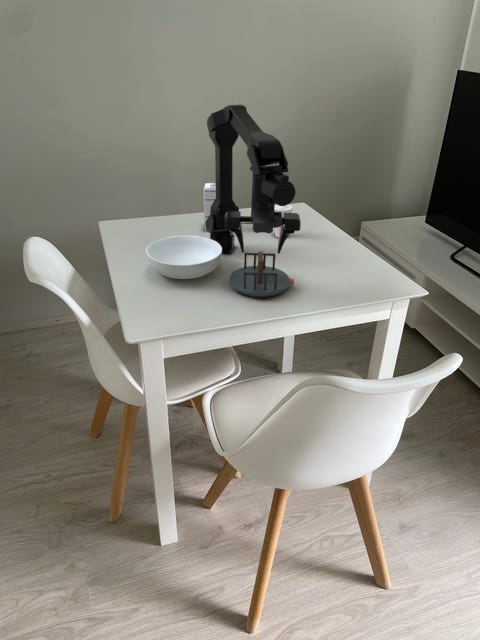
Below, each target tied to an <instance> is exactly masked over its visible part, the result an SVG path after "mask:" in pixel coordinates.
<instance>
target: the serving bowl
mask: <svg viewBox="0 0 480 640" xmlns="http://www.w3.org/2000/svg"><path fill="white" fill-rule="evenodd" d="M145 254H146V259H147V261H148V264H149V266H150V267H151V268H152V269H153V270H154V271H155V272H156V273H158V274H160V275H161V276H164V277H166V278H170V279H177V280H190V279H197V278H200V277H203V276H206V275H208V274H210V273H212V272H213V271H214V270H215V269H216V268H217V266H218V265H219V264H220V262H221V259H222V255H223V253H222V247H221V245H220V244H219V243H217V242H216V241H214V240H212V239H210V238H208V237H204V236H199V235H190V234H189V235H183V234H182V235H173V236H166V237H162V238H159V239H157V240H154V241H153V242H151V243H150V244H148V245H147V247H146V249H145Z"/></svg>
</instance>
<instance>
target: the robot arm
mask: <svg viewBox="0 0 480 640" xmlns="http://www.w3.org/2000/svg"><path fill="white" fill-rule="evenodd" d="M206 127H207V130H208V136H209V137H208V138H210V140H211V142H212V143H213V145H214V148H215V149H214V154H215V155H214V157H215V158H214V159H215V161H214V162H215V165H214V166H215V169H214V170H215V183H216V198H215V200H214V202H213V204H212V205H211V208H210V215H209V217H208V218H207V220H206V222H205V226H206V230H207V231H206V232H208V233H209V237H210V238H209V239H212V240H214V241H216V242H217V243H219V244H220V245H221V247H222V255H229V254H230V253H231V252H232V251H233V249H234V248H235V237H236V238H237V241H238V244H239V247H240V250H241V253H245V242H244V233H243V232H244V231H243V225H252V232H253V233H254V234H259V233H263V234H265V233H266V234H272V233H273V232H274V229H275V228H278V227H281V231H280V237H278V243H277V254H281V251H282V249H283V247H284V244H285V243H286V240H287V238H288V237H289V236H290V235H292V234H293V235H294V234H295V232H299V231H301V223H302V222H301V216H300V214H299V213H298V212H291V213H284V216H283V217H282V212H276V211H275V210H274V208H275V205H276V204H277V205H279V206H286V205H290V204H291V203H292V202H293V201H294V199H295V196H296V187H295V185H294V184H293V183H292V182H291V181H289V179H290V177H289V176H290V175H288V174H285V173H289V167H288V166H289V162H288V160H287V157H286V153H285V151H284V147H283V144H282V142H281V141H280V140H279V139H278V138H277V137H275V136H274V135H273V134H270V133H267V132H264V131H263V130H262V129H261V127H260V126H259V125H258V124H257V122H256V121H255V120H254V118H253V117H252V116H251V115H250V113H249V112H248V110H247V107H246V105H243V104H228V105H227V106H224V108H222V109H220V110H217V111H214V112H211V113H210V115H209V116H208V117H207V119H206ZM239 137H240V138H241V140H242V141H243V143H245V145H246V147H247V150H246V156H247V158H248V160H249V163H250V167H249V171H251V172H252V179H251V208H250V216H248V215H242V212H241V211H240V208H239V206H238V205H237V204H236V202H235V201H234V199H233V169H234V168H233V166H234V165H233V163H234V162H233V155H234V154H233V153H234V152H233V147H234V146H235V144H236V142H237V140H238V139H239ZM205 226H204V227H205Z"/></svg>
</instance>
